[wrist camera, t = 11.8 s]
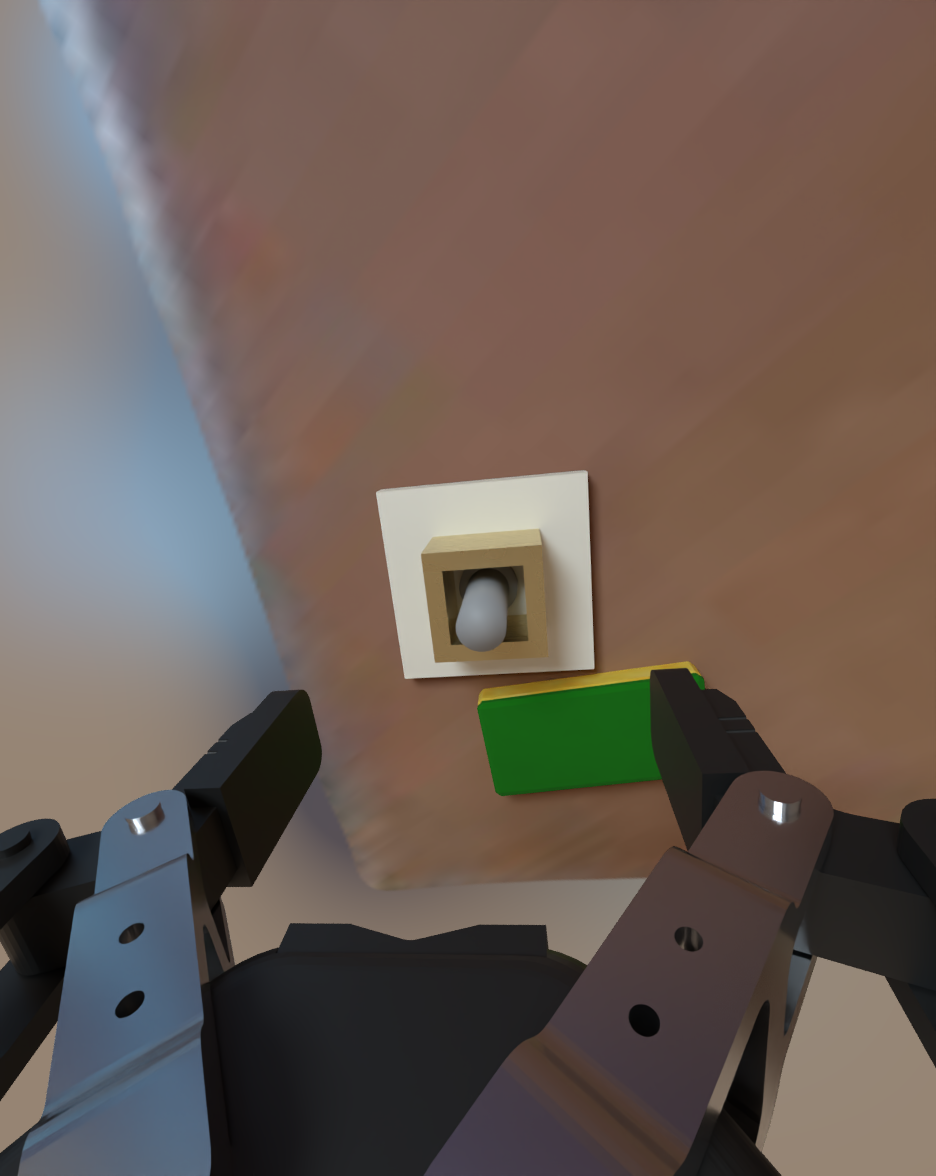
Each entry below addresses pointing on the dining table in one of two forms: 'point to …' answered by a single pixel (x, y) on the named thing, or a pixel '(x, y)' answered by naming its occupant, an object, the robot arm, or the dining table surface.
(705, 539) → the dining table surface
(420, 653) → the post board
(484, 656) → the collar
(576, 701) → the dish sponge
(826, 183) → the dining table surface
